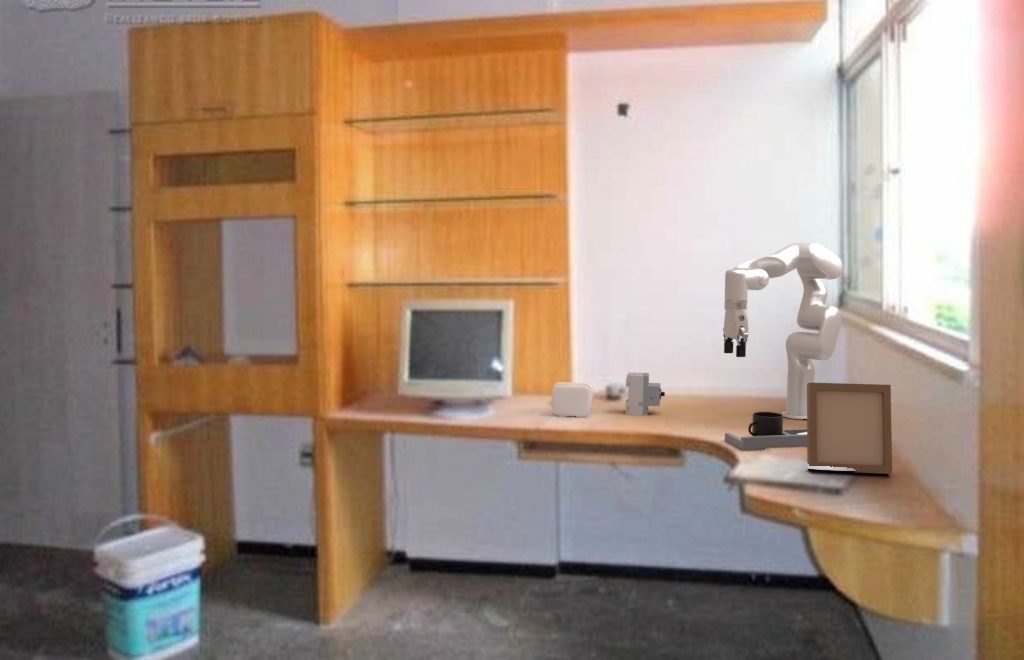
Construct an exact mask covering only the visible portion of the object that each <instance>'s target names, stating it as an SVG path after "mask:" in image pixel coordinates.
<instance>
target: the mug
mask: <svg viewBox="0 0 1024 660" xmlns="http://www.w3.org/2000/svg"><path fill="white" fill-rule="evenodd" d="M783 429H784V416H783V415H782V413H779V412H774V411H773V412H772V411H757V412H753V413H752V422H750V423H749V424H748V427H747V430H748V431H747V432H748V433H749V435H750V436H773V435H783Z"/></svg>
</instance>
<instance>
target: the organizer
mask: <svg viewBox="0 0 1024 660" xmlns="http://www.w3.org/2000/svg"><path fill="white" fill-rule="evenodd" d="M804 432H807V427H805V428H803V427H802V428H783V435H773V436H752V435H749V436H741V437H738V436H737V435H734V434H732V433H731V432H725V433H724V441H725V442H727V443H728V444H730V445H732V446H734V447H736V448H737V447H738V448H737V449H739V448H740V449H739V450H741V451H743V450H744V451H759V450H760V451H762V449H769V448H771V449H773V448H795V447H807V434H798V433H804ZM796 434H798V435H796Z"/></svg>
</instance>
